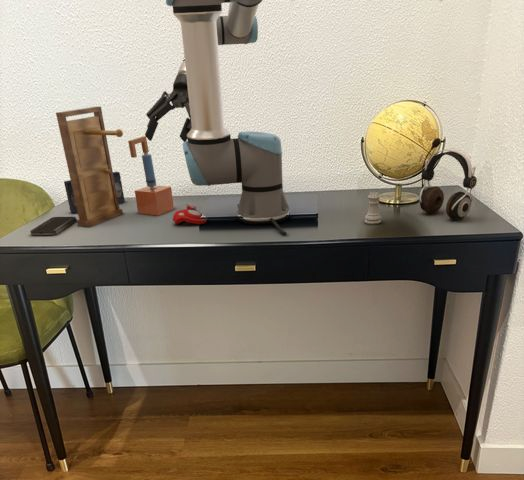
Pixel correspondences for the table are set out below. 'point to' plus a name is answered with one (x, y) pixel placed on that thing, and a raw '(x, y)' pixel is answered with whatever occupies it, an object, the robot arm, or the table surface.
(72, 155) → the door
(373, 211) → the rook chess piece
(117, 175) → the vhs cassette tape
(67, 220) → the phone
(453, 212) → the headset
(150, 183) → the umbrella
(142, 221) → the table surface
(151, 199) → the stand
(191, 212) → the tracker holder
